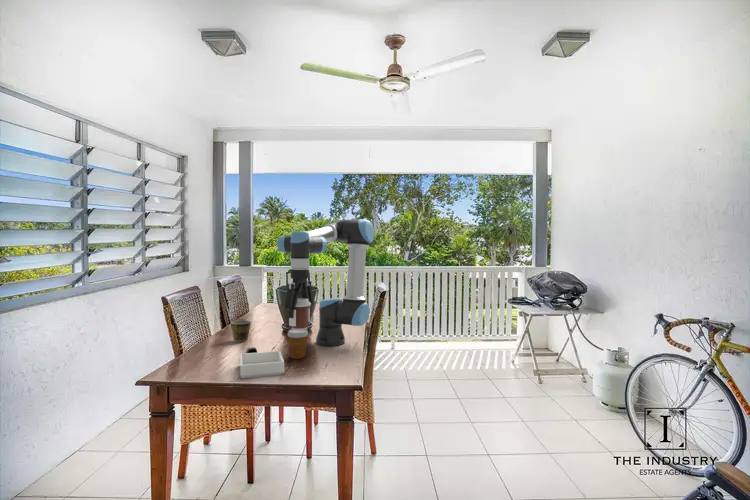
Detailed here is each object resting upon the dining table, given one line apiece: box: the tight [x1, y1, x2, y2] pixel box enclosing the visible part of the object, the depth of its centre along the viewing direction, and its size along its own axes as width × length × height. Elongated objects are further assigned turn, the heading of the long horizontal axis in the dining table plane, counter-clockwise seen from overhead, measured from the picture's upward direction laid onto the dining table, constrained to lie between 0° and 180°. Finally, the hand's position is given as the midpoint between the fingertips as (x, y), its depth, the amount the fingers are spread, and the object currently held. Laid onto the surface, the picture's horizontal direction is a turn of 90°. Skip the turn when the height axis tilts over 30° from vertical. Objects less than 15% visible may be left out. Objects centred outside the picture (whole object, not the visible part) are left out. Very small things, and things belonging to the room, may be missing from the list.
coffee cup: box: [288, 297, 311, 330], centre depth 164 cm, size 9×9×12 cm
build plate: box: [245, 347, 258, 354], centre depth 183 cm, size 12×7×5 cm, turn 119°
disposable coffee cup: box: [286, 328, 309, 360], centre depth 184 cm, size 10×10×12 cm
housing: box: [239, 350, 285, 379], centre depth 165 cm, size 17×17×5 cm
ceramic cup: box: [230, 319, 252, 343], centre depth 209 cm, size 13×10×10 cm
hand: (299, 323), depth 164 cm, fingers closed on coffee cup, 9 cm apart
